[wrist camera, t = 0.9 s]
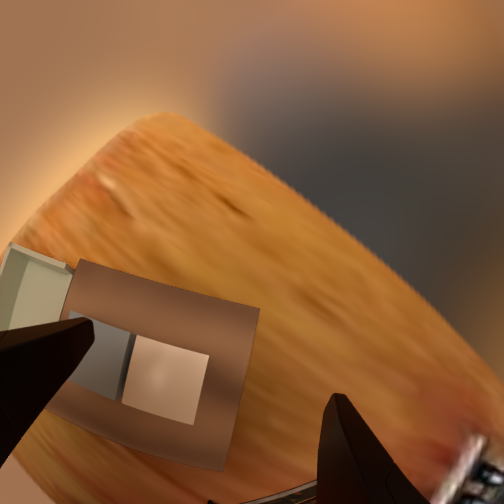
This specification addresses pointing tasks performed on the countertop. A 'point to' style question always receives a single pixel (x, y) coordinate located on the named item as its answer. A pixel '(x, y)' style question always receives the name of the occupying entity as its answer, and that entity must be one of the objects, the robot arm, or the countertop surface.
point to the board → (173, 333)
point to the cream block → (165, 380)
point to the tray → (32, 288)
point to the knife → (290, 496)
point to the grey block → (105, 360)
